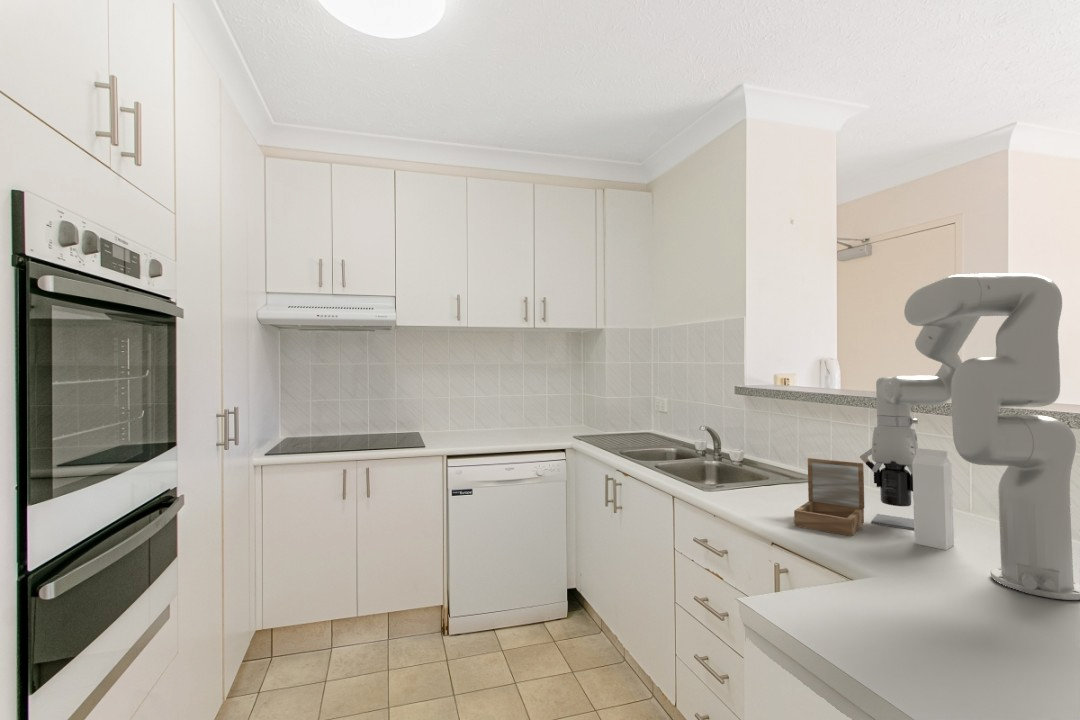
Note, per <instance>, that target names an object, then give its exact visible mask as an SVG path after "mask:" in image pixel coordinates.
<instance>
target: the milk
mask: <svg viewBox="0 0 1080 720" xmlns="http://www.w3.org/2000/svg"><path fill="white" fill-rule="evenodd" d="M912 468H913V491H912V495H913V519H914V530H913V531H914V533H913V534H914V544H916V545H921V546H924V547H929V548H934V549H940V550H943V551H947V550H949V549H950V548H952V547H954V546H955V535H954V533H955V532H954V531H955V529H954V507H953V506H954V505H953V503H954V501H953V481H952V480H953V477H952V476H953V475H952V470H953V469H952V462H951V461H950V460H949V458H948V451H946V450H941V449H940V450H939V449H929V448H918V449H916V456H915V458H914V460H913V462H912Z"/></svg>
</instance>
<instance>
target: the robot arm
mask: <svg viewBox="0 0 1080 720" xmlns="http://www.w3.org/2000/svg"><path fill="white" fill-rule="evenodd" d="M1062 296H1063V295H1062V293H1061V290H1060V288H1059V287H1058V285H1057V284H1056V283H1055V282H1054V281H1053V280H1051V279H1050V278H1049V277H1048V278H1047V277H1046V276H1043V275H1040V274H1035V273H1034V274H1033V273H1019V272H1018V273H1017V272H1016V273H1014V272H1013V273H1010V272H1009V273H1007V272H1006V273H978V274H977V273H975V274H974V273H970V274H969V273H967V274H954V275H950V276H947V277H945V278H944V277H943V278H942V279H939V280H937V281H934V282H932V283H930V284H928V285H925V286H922V287H921V288H918V289H917V290H916V291H914V292H913V293H912V294H911V295H910V296H909V297H908V299H907V300H906V303H905V305H904V312H903V313H904V317H905V320H906V321H907V323H908V324H910V325H912V326H916V327H922V328H921V330H920V331H919V334H917V337H916V338H915V340H914V341H915V342H914V345H915V348H916V349H917V350H918V352H919V353H920V354H922V355H923V356H924V357H927V358H928V359H931V360H934V362H935V361H936V362H938V363H940V364H941V365H940V367H939V369H938V370H937V372H936V373H935V375H897V376H884V377H881V376H880V377H879V378H878V379H877V380H876V383H875V390H876V391H875V392H876V393H875V395H876V396H875V397H876V425H875V426H874V427H873V431H872V432H873V433H872V441H871V448H870V449H868V450H867V451H866V452H863V453H862V454H861V455H860V456H859V459H861V461H862V463H863V464H864V463H865V464H866V466H867V467H868V468H869V469H870V470H871V471H872V472H873V484H876V488H880V470H881V469H880V468H881V467H882V465H884V464H887V463H891V461H894V462H895V461H896V464H897V463H898V464H900V465H904V466H906V467H907V469H908V471H909V472H910V475H911V476H910V491H911V492H913V468H912V462H913V460H914V458H915V456H916V449H919V447H918V446H919V445H918V444H919V443H918V437H917V433H916V429H915V428H914V427H912V426H913V425H918V418H913V417H912V415H911V414H912V413H911V411H912V409H911V406H941V405H943V404H946V403H948V402H949V401H950V400H951V419H952V420H951V421H952V425H951V426H952V438H953V443H954V446H955V447H954V448H955V449H956V451H957V453H958V455H959V456H960V457H961V458H962V459H963V460H965V462H968V463H971V464H973V465H977V466H978V465H979V466H996V467H997V466H999V467H1000V466H1005V467H1006V466H1007V467H1006V469H1005V471H1004V472H1003V474H1002V476H1001V477H1000V481H999V482H998V490H997V491H998V522H999V544H1000V547H999V548H1000V567H996V568H993V569H991V570H990V577H992V578H993V579H995V580H996V581H998V582H1000V583H1001V584H1003V585H1002V586H1004V585H1006V586H1008V587H1007V588H1009V587H1010V588H1009V589H1011V588H1013V589H1012V590H1014V589H1016V590H1015V591H1017V590H1019V591H1018V592H1021V591H1022V592H1021V593H1024V592H1025V594H1029V595H1033V596H1038V597H1042V598H1048V599H1054V600H1063V601H1079V600H1080V583H1078V582H1076V581H1074V564H1073V544H1072V543H1073V541H1072V539H1073V538H1072V518H1071V517H1072V516H1071V515H1072V513H1071V474H1072V468H1073V464H1074V459H1075V455H1076V449H1077V442H1076V441H1077V440H1076V435H1075V433H1074V432H1073V430H1072V429H1071V428H1070V426H1068V425H1067V424H1066V423H1064V422H1063V421H1061V420H1059V419H1057V418H1054V417H1051V416H1048V415H1047V416H1046V415H1039V414H999V409H1000V408H1039V407H1041V408H1042V407H1046V406H1049V405H1051V404H1054V403H1055V402H1056V401H1057V400H1058V398H1059V396H1060V393H1061V368H1060V367H1061V366H1060V348H1059V347H1060V345H1059V327H1060V326H1059V325H1060V320H1061V315H1062V311H1063V310H1062V309H1063V297H1062ZM993 316H994V317H995V316H996V317H998V316H999V317H1004V316H1005V317H1006V319H1005V320H1004V321H1003V322H1002V323H1001V325H1000V326H999V328H998V330H997V332H996V334H995V335H996V336H995V348H996V349H995V357H994V356H993V357H992V356H989V357H988V356H987V357H986V356H985V357H982V356H981V357H974V358H973V357H972V358H970V359H966V360H964V361H962V358H961V357H960V356H959V354H958V353H959V352H960V350H961V348H962V347H963V346H964V344H965V342H966V341H967V339H968V337H969V335H970V334H971V333H972V331H973V329H974V328H975V326H976V325H977V323H978V321H979V319H980V318H981V317H993ZM870 456H871V460H872V461H873V462H874V463H873V462H872V461H871V460H870V459H869V457H870ZM992 578H991V579H992ZM993 579H992V580H993ZM996 581H995V582H996ZM1001 584H1000V585H1001ZM1006 586H1005V587H1006Z"/></svg>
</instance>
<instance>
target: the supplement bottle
mask: <svg viewBox="0 0 1080 720" xmlns="http://www.w3.org/2000/svg"><path fill="white" fill-rule="evenodd" d="M883 466H884V467H883V468H881V469H880V487H879V488H880V491H879V492H880V502H881V503H883V504H885V505H888V506H894V507H910V506H911V505H912V491H910V476H911V472H910V470H907V469H906V467H907V466H904V465H900V464H898V463H897V464H896V461H895V462H894V461H891V463H887V464H883Z"/></svg>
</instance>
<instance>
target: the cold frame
mask: <svg viewBox="0 0 1080 720" xmlns="http://www.w3.org/2000/svg"><path fill="white" fill-rule="evenodd" d="M864 480H865V479H864V462H853V461H845V460H833V459H825V458H824V459H822V458H811V457H808V458H807V487H808V488H807V489H808V498H807V499H808V501H807V502H805V503H803V504H802V505H800V506H799V507H797V508H796V509H795V510H794V511H793V513H794V517H793V519H794V520H793V521H794V527H798V528H802V529H803V528H804V529H808V530H809V529H810V530H814V531H821V532H826V533H831V534H837V535H842V536H843V535H844V536H847V537H853V536H854V535H855V534H856V533H857V531H858V530H859V529H861V528H862V526H863V525H864V524H863V523H865V511H864V509H865V483H864V482H865V481H864Z"/></svg>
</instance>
